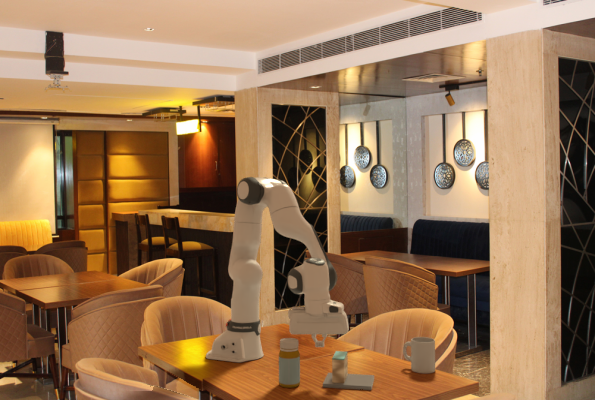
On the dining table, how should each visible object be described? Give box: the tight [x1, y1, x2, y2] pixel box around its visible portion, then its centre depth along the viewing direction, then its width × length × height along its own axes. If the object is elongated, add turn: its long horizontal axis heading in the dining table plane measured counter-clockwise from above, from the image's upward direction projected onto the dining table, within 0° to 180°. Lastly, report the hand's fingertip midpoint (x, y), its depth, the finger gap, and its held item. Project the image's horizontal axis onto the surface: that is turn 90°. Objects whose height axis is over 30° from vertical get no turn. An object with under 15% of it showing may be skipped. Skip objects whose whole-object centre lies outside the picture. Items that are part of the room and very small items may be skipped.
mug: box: [402, 336, 436, 374], centre depth 208 cm, size 12×8×11 cm
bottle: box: [278, 337, 301, 389], centre depth 192 cm, size 7×7×15 cm
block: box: [331, 350, 349, 383], centre depth 195 cm, size 4×9×8 cm, turn 168°
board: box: [322, 372, 375, 391], centre depth 194 cm, size 16×12×1 cm
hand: (319, 346), depth 196 cm, fingers closed
